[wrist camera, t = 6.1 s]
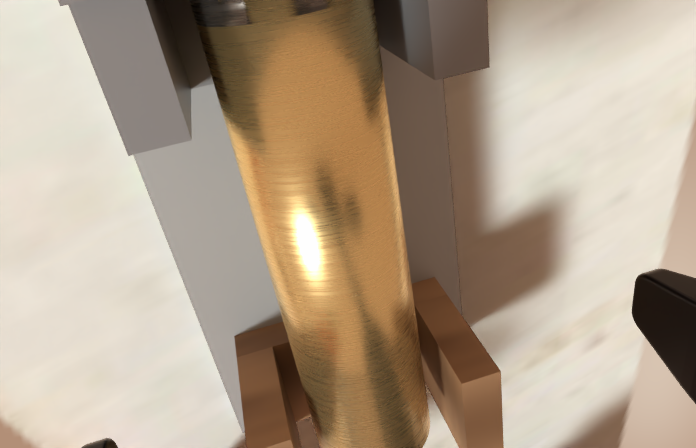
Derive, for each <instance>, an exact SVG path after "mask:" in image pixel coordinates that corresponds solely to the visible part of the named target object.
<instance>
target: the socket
mask: <svg viewBox="0 0 696 448" xmlns="http://www.w3.org/2000/svg"><path fill="white" fill-rule="evenodd" d="M58 1H59V3H60V6H63V5H69V8H70V10H71V13H72V15H73V18H74V20H75V23H76V25H77V28H78V30H79V33H80V35H81V38H82V40H83V43H84V45H85V48H86V50H87V53H88V55H89V58H90V60H91V63H92V65H93V68H94V70H95V73H96V75H97V78H98V80H99V83H100V85H101V88H102V90H103V93H104V95H105V98H106V100H107V103H108V105H109V108H110V110H111V113H112V115H113V118H114V120H115V123H116V125H117V128H118V130H119V133H120V136H121V138H122V141H123V143H124V146H125V148H126V151H127V153H128V156H130V155H134V154H138V153H142V152H146V151H150V150H154V149H158V148H162V147H166V146H170V145H175V144H179V143H183V142H187V141H191V140H192V126H191V89H194V88H198V87H202V86H207V85H211V84H214V83H213V79H212V76H211V73H210V69H209V66H208V62H207V59H206V56H205V52H204V49H203V45H202V42H201V39H200V35H199V32H198V28H197V25H196V21H195V18H194V15H193V11H192V8H191V4H190V1H189V0H58ZM373 2H374V9H375V16H376V24H377V31H378V39H379V45H380V46H381V47H383V48H384V49H386V50H387V51H389V52H391V53H392V54H394V55H395V56H397V57H399V58H400V59H402V60H403V61H405V62H406V63H408V64H410V65H411V66H413V67H414V68H416V69H418V70H419V71H421V72H422V73H424V74H425V75H427V76H429V77H430V78H432V79H433V80H439V79H444V78H448V77H452V76H456V75H460V74H464V73H468V72H472V71H476V70H480V69H484V68H488V67H489V41H488V14H487V0H373Z"/></svg>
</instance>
